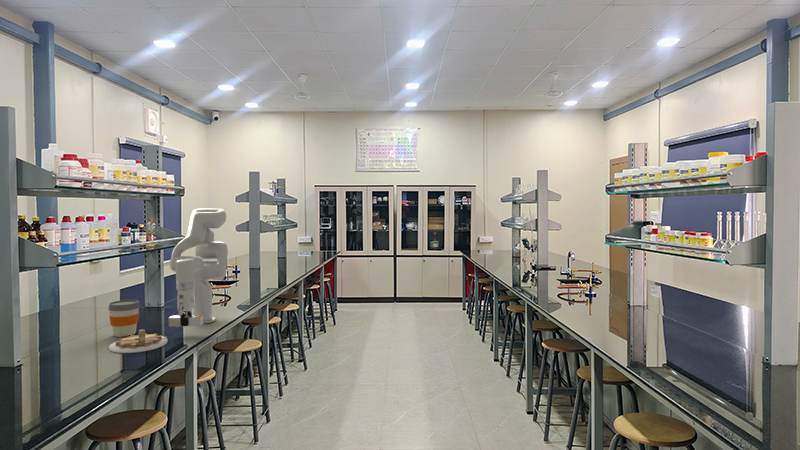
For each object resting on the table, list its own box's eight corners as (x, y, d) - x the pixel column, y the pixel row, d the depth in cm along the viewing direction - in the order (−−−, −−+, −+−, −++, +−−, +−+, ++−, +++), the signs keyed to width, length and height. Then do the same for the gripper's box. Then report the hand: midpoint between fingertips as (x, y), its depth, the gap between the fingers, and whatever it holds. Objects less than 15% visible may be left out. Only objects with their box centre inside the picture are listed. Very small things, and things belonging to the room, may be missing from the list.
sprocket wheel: (112, 341, 197) (112, 326, 196) (156, 334, 208) (156, 320, 207) (119, 351, 183) (119, 335, 183) (165, 343, 195) (165, 328, 194)
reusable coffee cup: (123, 329, 220) (123, 299, 219) (146, 331, 217) (145, 300, 217) (102, 336, 207) (101, 304, 207) (125, 338, 205) (125, 305, 204)
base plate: (125, 338, 206) (125, 334, 206) (175, 337, 207) (175, 334, 207) (97, 353, 184) (97, 350, 184) (153, 352, 186) (153, 349, 186)
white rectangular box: (172, 323, 211) (172, 315, 211) (203, 323, 212) (203, 314, 212) (168, 326, 207) (168, 317, 207) (200, 326, 208) (200, 317, 208)
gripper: (186, 289, 200) (187, 330, 202) (200, 281, 217) (201, 319, 218) (169, 289, 200) (170, 330, 201) (184, 281, 216) (185, 319, 218)
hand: (186, 323), depth 210 cm, fingers closed on white rectangular box, 4 cm apart
